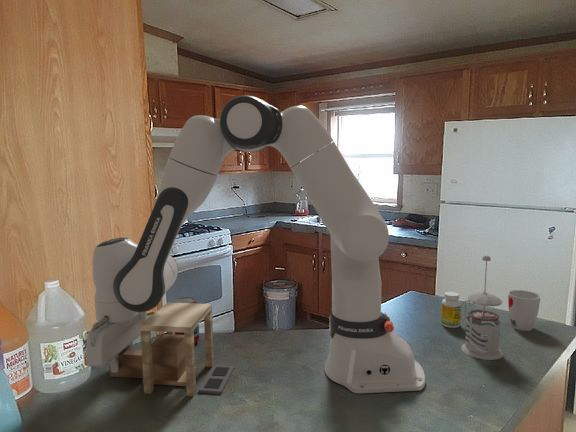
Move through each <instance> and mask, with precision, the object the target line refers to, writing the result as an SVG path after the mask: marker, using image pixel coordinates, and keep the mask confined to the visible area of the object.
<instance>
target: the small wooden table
mask: <svg viewBox="0 0 576 432" xmlns="http://www.w3.org/2000/svg"><path fill="white" fill-rule="evenodd" d="M212 306H213V304H212V303H175V302H167V303H165V304H163V306H162V307H161V308H159V309H158V310H156V311H155V312H154V313H153V314H152V315H151V316H149V317H148V318H147V320H146V321H145V322H143V323H142V324H141V325H140V332H141V335H140V343H141V344H140V345H141V347H140V348H141V350H142V366H143V378H142V383H143V382H144V383H143V393H144V394H150V395H151V394H152V393H153V391H154V390H155V384H154V382H153V364H152V346H151V344H152V335H151V334H152V332H163V333H164V332H165V334H173V335H175V332H183V333H184V341H185V363H186V396H187V397H195V395H196V393H197V380H196V379H197V378H196V372H195V367H196V355H195V354H196V353H195V352H196V351H195V344H194V329H195V328H196V327H197V326H198V324H199V325H200V323H201V322H202V321H203V322H204V324H203V325H204V326H203V327H204V328H203V329H204V351H205V352H204V353H205V367H206V368H212V367H213V366H214V365H215V357H214V332H213V331H214V329H213V307H212Z"/></svg>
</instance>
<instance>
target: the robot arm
mask: <svg viewBox="0 0 576 432" xmlns="http://www.w3.org/2000/svg"><path fill="white" fill-rule="evenodd" d="M268 147H272V148H274V149H276V150H277V151H278V152H279V153H280V155H281V156H282V157H283V159H284V160H285V161H286V163H287V165H288V167H289V168H290V170H291V171H292V173H293V175H294V176H295V179H296V180H297V181H298V183H299V185H300V187H301V188H302V190H303V191H304V193H305V194H306V196H307V198H308V199H309V201H310V203H311V204H312V207H314V209H315V210H316V213H317V214H318V216H319V218H320V219H321V221H322V223H323V225H324V226H325V228H326V230H327V232H329V235H330V237H329V238H330V263H331V265H330V266H331V311H329V313H330V314H329V321H328V322H329V324H328V325H329V335H330V342H329V343H330V344H329V350H328V351H329V352H328V354H327V355H328V356H327V360H326V363H325V366H324V372H325V375H326V376H327V377H328V378H329V379H330V380H331V381H333V382H334V383H337V384H339V385H342V386H343V387H345V388H347V390H349V391H350V392H351V393H353V394H373V393H374V394H375V393H396V392H414V391H415V392H417V391H422V390H423V389H424V388H425V386H426V375H425V371H424V369H423V367H422V365H421V364H420V363H419V362H418V361H417V360H416V359H415V356H414V353H413V351H412V350H413V349H412V348H411V346H410V345H409V343H408V342H407V341H405V339H403V338H402V337H400V336H399V335H398V334H396V333H395V332H394V329H395V326H394V323H393V322H392V320H391V319H390V317H389V316H388V314H387V312H382V284H383V283H382V276H381V268H380V259H379V257H380V256H381V255H383V254H384V252H385V251H386V250H387V247H388V245H389V239H390V236H389V235H390V234H389V228H388V225H387V223H386V220H385V219H384V218H383V216H382V214H381V213H380V212H379V210H378V208H377V206H376V205H375V204H374V202H373V200H372V199H371V198H370V196H369V194H368V193H367V192H366V190H365V188H364V187H363V186H362V184H361V183H360V182H359V180H358V179H357V177H356V176H355V175H354V173H353V171H352V169H351V167H350V166H349V165H348V163H347V161H346V159H345V158H344V156H343V154H342V153H341V151H340V149H339V147H338V146H337V144H336V143H335V141H334V139H333V138H332V136H331V135H330V133H329V132H328V130H327V129H326V128H325V126H324V125H323V124H322V122H321V121H320V120H319V119H318V117H317V116H316V115H315V114H314V113H313V111H311V110H310V109H309V108H308V107H306V106H304V105H294V106H291V107H288V108H285V110H282V111H280V109H278V108H276V107H275V106H273V105H272V104H269V103H268V102H266V101H265V100H263V99H260V98H259V97H256V96H253V95H247V94H246V95H245V94H243V95H238V96H236V97H234V98H232V99H230V100H229V101H228V102H226V104H225V105H224V106H223V108H222V109H221V111H220V116H219V118H215V117H212V116H209V115H204V114H202V115H199V114H198V115H193V116H191V117H190V118H189V119H187V120H186V122H185V123H184V125H183V126H182V128H181V130H180V131H179V133H178V135H177V138H176V139H175V142H174V144H173V146H172V147H171V150H170V153H169V155H168V156H169V157H168V158H167V162H166V164H165V168H164V170H163V174H162V177H161V181H160V185H159V188H158V192H157V195H156V198H155V201H154V205H153V208H152V210H151V212H150V213H151V214H150V215H149V218H148V220H147V223H146V224H145V227H144V230H143V232H142V234H141V237H140V239H139V242H138V243H136V242H135V241H133V240H132V239H131V238H130V237H117V238H111V239H108V240H105V241H103V242H101V243H99V244H98V245H97V246H95V248H94V250H93V253H92V279H93V284H94V286H95V294H94V307H95V308H94V309H95V319H96V321H97V322H95V323H92V327H91V330H90V331H89V332H88V334H87V338H86V343H85V344H86V346H85V347H86V348H85V351H86V352H85V354H86V355H85V359H86V360H85V361H86V364H87V365H88V366H89V367H90V368H104V367H105V366H106V365H107V364H108V365H110V370H109V372H110V371H111V372H118V371H119V370H120V369H121V362H118V360H117V358H118V354H119V353H120V352H121V351H122V350H123V349H133V342H134V341H135V340H136V339H138V338H139V337H140V336H141V332H140V325H141V324H142V323H143V322H145V321H146V320H147V319H148V318H147V317H148V316H147V312H148V311H152V310H153V309H155V308H156V307H157V306H158V305H159V303H160V302H161V300H162V299H163V297H164V296H165V294H167V292H168V291H169V290H170V288H171V287H172V286H173V285H174V283H175V282H176V281H177V279H178V276H179V265H178V262H177V261H176V259H175V258H174V257H173V256H172V255H171V254H170V253H171V251H172V248H173V246H174V243H175V241H176V238H177V236H178V234H179V232H180V230H181V228H182V226H183V225H184V223H185V222H186V221H187V220H188V219H189V217H190V216H192V214H193V213H195V211H196V210H197V209H198V208H199V207H201V205H203V204H204V203H205V201H206V199H207V198H208V197H209V194H210V193H211V192H212V189H213V188H214V185H215V183H216V181H217V178H218V175H219V174H220V170H221V167H222V165H223V163H224V160H225V158H226V157H227V155H228V154H230V153H231V152H242V153H258V152H261V151H263V150H265V149H266V148H268Z"/></svg>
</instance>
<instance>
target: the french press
mask: <svg viewBox="0 0 576 432" xmlns="http://www.w3.org/2000/svg"><path fill="white" fill-rule="evenodd" d="M491 259H492V258H491V256H489V255H484V256H483V257H482V259H481V260H482V261H484V262H485V275H484V276H485V277H484V289H483V290H484V292H483V291H480V292H479V291H478V292H473V293H471V294H469V295H467V297H466V298H467V299H466V300H464V301H463V302H461V307H460V316H461V320H460V321H461V322H462V323H463V324H464V326H465V343H463V344H462V345H461V347H460V349H461V350H462V352H463V353H464V354H466V355H467V356H469V357H472V358H474V359H475V358H476V359H479V360H487V361H493V360H499V359H501V358H502V357H503V355H504V353H503V352H502V351H501V349H500V347H499V346H500V332H501V321H500V320H499V319H500V316H499V315H498V314H497V313H496V312H493V311H489V310H485V309H486V308H485V307H499V306H501V305H502V304H503V300H502V299H501V298H500V297H498V296H497V295H495V294H492V293H490V292H486V287H487V286H486V285H487V269H488V267H487V266H488V262H491ZM465 302H466V303H465ZM464 303H465V304H464ZM471 303H472V304H471ZM463 305H464V316H465V319H466V323H465V322H464V320H463V318H462V307H463ZM467 305H469V307H470V306H473V305H479V306H483V309H471V310H469V311H468V313H467V312H466V311H467ZM467 314H468V316H467ZM491 322H493V323H491ZM485 335H488V336H485Z"/></svg>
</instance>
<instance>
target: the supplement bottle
mask: <svg viewBox="0 0 576 432" xmlns="http://www.w3.org/2000/svg"><path fill="white" fill-rule="evenodd" d="M443 296H444V299H442V301H441V314H440V315H441V317H440V318H441V320H440V323H441V325H442V326H443V327H446V328H451V329H455V328H456V329H457V328H459V327H460V326H461V321H462V320H461V317H462V315H461V316H460V307H461V305H462V302H461V301H460V293H458V292H455V291H446V292H444V295H443ZM461 308H462V307H461Z"/></svg>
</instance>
